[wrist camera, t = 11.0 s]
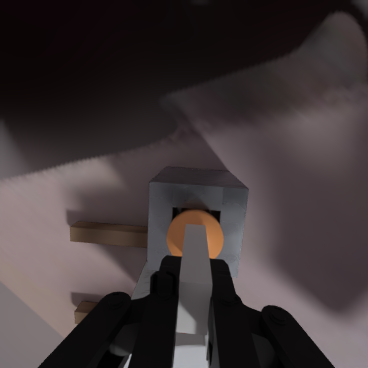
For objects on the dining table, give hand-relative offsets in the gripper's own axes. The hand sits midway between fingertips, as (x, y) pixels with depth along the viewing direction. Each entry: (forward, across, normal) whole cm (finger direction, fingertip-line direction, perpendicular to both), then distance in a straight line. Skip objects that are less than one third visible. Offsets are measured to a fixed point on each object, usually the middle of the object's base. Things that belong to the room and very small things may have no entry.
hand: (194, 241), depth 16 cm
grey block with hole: (+12, 0, 0) cm, 12 cm away
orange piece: (+7, 0, 0) cm, 7 cm away
